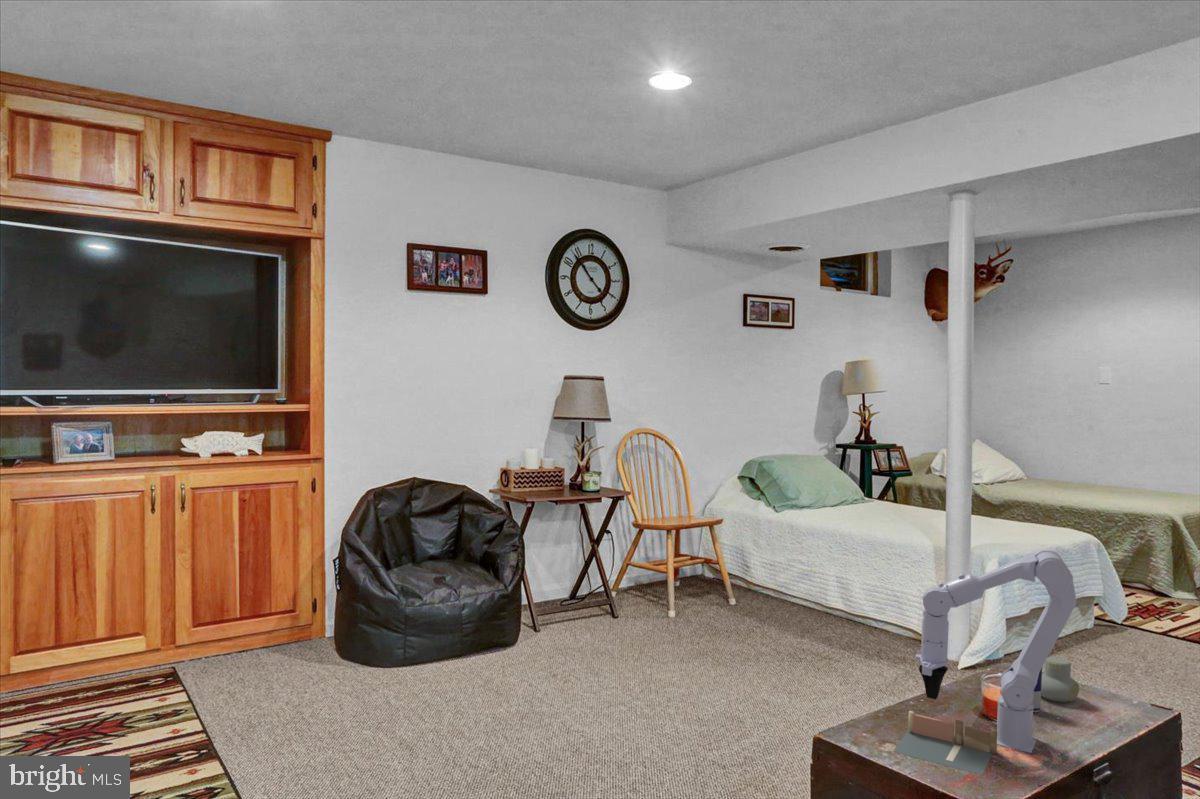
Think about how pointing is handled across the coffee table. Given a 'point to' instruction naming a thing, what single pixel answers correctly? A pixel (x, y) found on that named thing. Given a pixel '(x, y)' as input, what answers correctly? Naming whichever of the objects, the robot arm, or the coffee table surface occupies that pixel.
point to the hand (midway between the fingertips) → (932, 697)
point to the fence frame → (976, 738)
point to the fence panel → (930, 727)
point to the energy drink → (1037, 693)
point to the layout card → (943, 752)
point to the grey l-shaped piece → (1058, 681)
